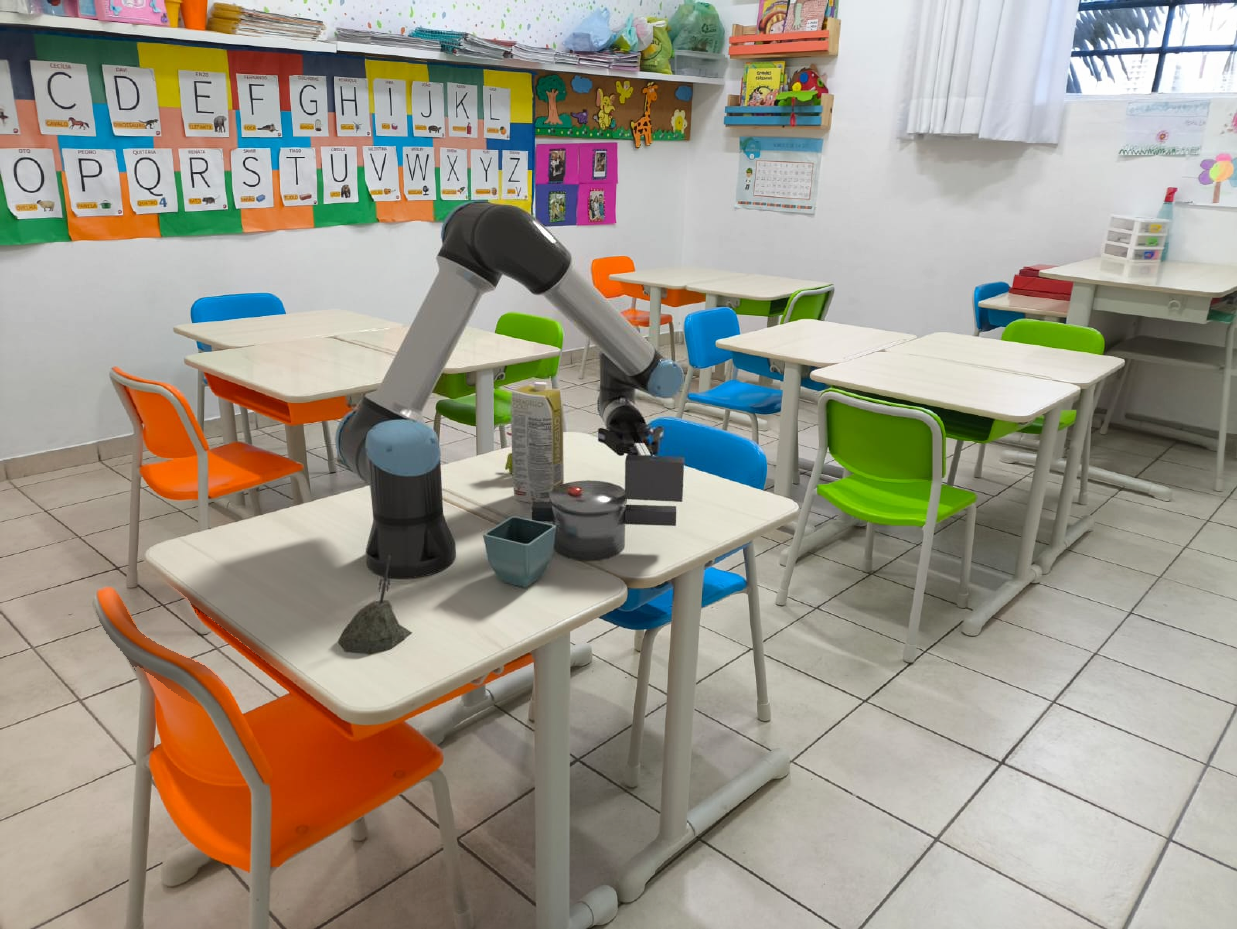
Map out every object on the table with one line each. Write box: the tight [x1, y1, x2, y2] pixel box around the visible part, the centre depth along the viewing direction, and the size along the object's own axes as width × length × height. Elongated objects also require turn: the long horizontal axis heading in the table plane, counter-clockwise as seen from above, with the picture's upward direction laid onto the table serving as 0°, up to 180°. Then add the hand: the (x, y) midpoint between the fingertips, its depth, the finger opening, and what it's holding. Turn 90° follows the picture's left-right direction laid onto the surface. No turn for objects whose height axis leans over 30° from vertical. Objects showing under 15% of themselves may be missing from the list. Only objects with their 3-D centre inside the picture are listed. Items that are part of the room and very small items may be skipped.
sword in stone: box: [337, 556, 413, 655], centre depth 125 cm, size 10×8×12 cm
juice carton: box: [510, 381, 565, 505], centre depth 173 cm, size 9×8×24 cm
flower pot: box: [482, 515, 556, 588], centre depth 143 cm, size 9×9×9 cm
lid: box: [550, 454, 685, 515], centre depth 152 cm, size 23×14×8 cm, turn 84°
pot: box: [531, 502, 677, 562], centre depth 156 cm, size 26×13×8 cm, turn 87°
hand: (645, 462), depth 153 cm, fingers closed
